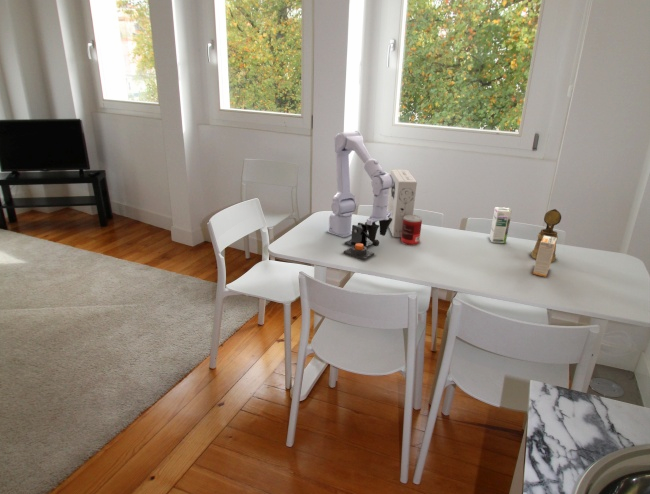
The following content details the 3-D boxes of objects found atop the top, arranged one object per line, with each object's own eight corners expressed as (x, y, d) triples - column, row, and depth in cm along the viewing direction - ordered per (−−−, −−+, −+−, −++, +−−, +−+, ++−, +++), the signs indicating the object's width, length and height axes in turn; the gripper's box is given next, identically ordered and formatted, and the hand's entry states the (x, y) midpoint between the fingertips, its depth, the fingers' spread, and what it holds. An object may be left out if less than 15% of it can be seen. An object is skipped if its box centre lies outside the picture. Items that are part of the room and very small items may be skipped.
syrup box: (491, 242, 201) (497, 210, 195) (489, 237, 206) (495, 206, 200) (505, 243, 200) (512, 211, 194) (502, 238, 205) (509, 207, 200)
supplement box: (546, 277, 171) (555, 244, 165) (532, 274, 173) (540, 241, 168) (549, 269, 177) (557, 237, 172) (535, 266, 179) (543, 234, 174)
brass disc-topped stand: (557, 252, 193) (567, 210, 185) (554, 264, 182) (565, 220, 175) (533, 247, 197) (543, 206, 189) (529, 258, 186) (539, 215, 179)
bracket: (373, 245, 195) (374, 225, 192) (362, 250, 190) (363, 230, 186) (355, 239, 201) (356, 220, 197) (344, 244, 195) (345, 224, 191)
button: (353, 248, 184) (353, 244, 184) (358, 246, 187) (358, 242, 186) (360, 251, 183) (360, 246, 182) (364, 248, 185) (365, 244, 184)
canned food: (418, 239, 203) (421, 214, 198) (420, 246, 196) (423, 221, 191) (400, 238, 203) (402, 214, 199) (401, 244, 196) (404, 220, 192)
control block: (343, 253, 186) (343, 246, 185) (353, 248, 191) (354, 242, 190) (364, 261, 180) (364, 253, 179) (374, 255, 185) (374, 248, 184)
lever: (378, 246, 190) (381, 241, 189) (374, 248, 188) (377, 243, 187) (357, 228, 195) (360, 223, 193) (354, 230, 193) (356, 225, 191)
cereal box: (410, 238, 204) (417, 181, 194) (392, 237, 204) (398, 181, 194) (402, 221, 223) (407, 169, 213) (386, 220, 223) (391, 169, 213)
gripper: (378, 211, 175) (375, 245, 180) (398, 203, 185) (395, 235, 190) (363, 207, 179) (360, 240, 184) (383, 199, 189) (380, 230, 195)
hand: (377, 237), depth 188 cm, fingers open, 7 cm apart
